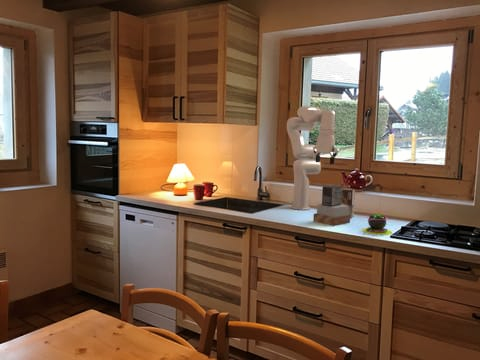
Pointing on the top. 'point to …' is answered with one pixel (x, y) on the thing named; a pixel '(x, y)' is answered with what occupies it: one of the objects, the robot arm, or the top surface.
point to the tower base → (331, 219)
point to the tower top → (333, 210)
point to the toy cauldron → (377, 225)
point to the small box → (331, 195)
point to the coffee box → (348, 200)
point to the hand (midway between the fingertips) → (324, 163)
